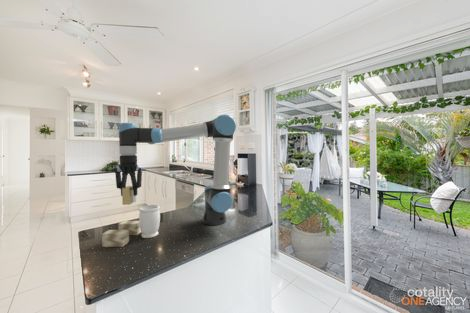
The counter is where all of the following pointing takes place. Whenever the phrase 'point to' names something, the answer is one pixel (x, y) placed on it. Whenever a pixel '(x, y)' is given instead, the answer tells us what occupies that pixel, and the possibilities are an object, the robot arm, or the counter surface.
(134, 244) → the counter surface
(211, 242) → the counter surface
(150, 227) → the jar
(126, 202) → the yellowish stone chunk
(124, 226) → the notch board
